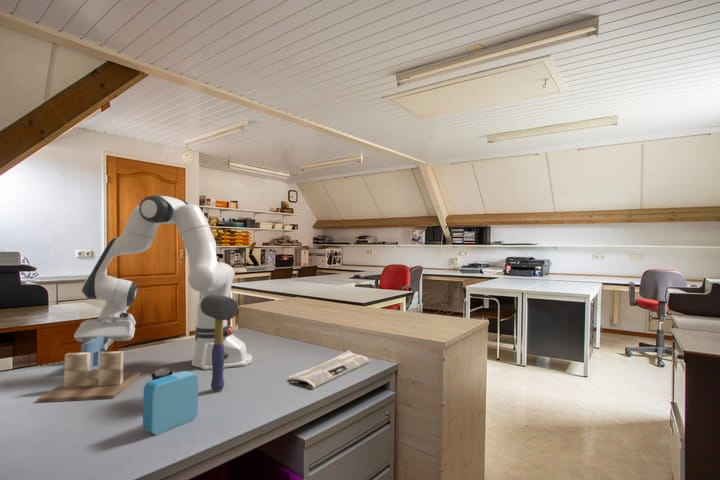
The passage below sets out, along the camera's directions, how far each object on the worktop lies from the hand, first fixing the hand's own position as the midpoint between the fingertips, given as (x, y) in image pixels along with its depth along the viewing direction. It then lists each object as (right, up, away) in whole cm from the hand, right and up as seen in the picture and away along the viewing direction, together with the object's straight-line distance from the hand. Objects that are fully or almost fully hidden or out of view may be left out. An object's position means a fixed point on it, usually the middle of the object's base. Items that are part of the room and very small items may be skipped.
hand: (98, 349), depth 142 cm
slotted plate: (+1, -5, -4) cm, 7 cm away
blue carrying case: (+52, -5, -48) cm, 71 cm away
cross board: (+15, -5, -24) cm, 29 cm away
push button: (+44, -5, -37) cm, 58 cm away
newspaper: (+90, -7, -5) cm, 90 cm away
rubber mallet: (+55, -6, -25) cm, 61 cm away
